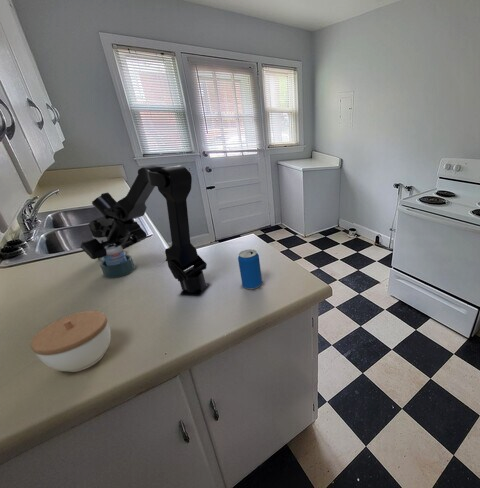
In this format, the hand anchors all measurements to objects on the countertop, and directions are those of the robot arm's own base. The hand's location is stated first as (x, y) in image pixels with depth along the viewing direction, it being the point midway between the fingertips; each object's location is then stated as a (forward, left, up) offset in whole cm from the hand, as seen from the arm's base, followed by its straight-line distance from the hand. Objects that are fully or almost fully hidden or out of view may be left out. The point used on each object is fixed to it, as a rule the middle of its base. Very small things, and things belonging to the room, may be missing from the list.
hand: (110, 253), depth 98 cm
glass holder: (+10, -10, -7) cm, 16 cm away
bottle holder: (-1, 0, -7) cm, 7 cm away
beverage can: (-54, +6, -7) cm, 55 cm away
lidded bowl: (-26, +40, -7) cm, 48 cm away
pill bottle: (-2, 0, -7) cm, 7 cm away
